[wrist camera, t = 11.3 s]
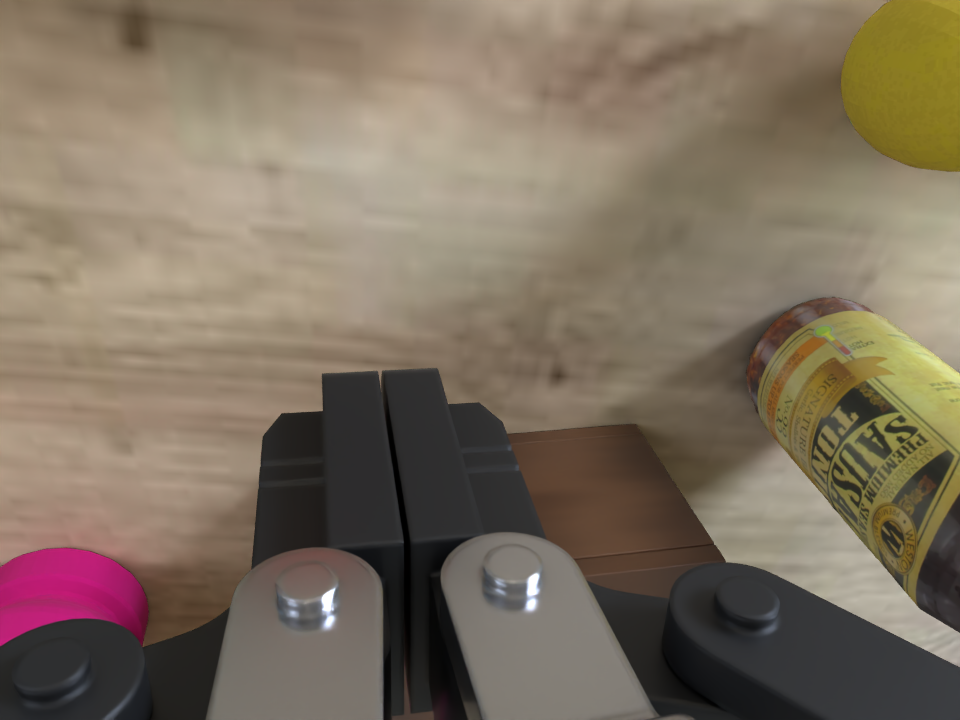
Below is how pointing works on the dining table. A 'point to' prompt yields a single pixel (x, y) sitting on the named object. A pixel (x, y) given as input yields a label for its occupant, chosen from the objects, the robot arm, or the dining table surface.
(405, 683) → the lid
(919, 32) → the lemon
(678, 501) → the box
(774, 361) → the sauce bottle
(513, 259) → the dining table surface
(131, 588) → the pepper mill
